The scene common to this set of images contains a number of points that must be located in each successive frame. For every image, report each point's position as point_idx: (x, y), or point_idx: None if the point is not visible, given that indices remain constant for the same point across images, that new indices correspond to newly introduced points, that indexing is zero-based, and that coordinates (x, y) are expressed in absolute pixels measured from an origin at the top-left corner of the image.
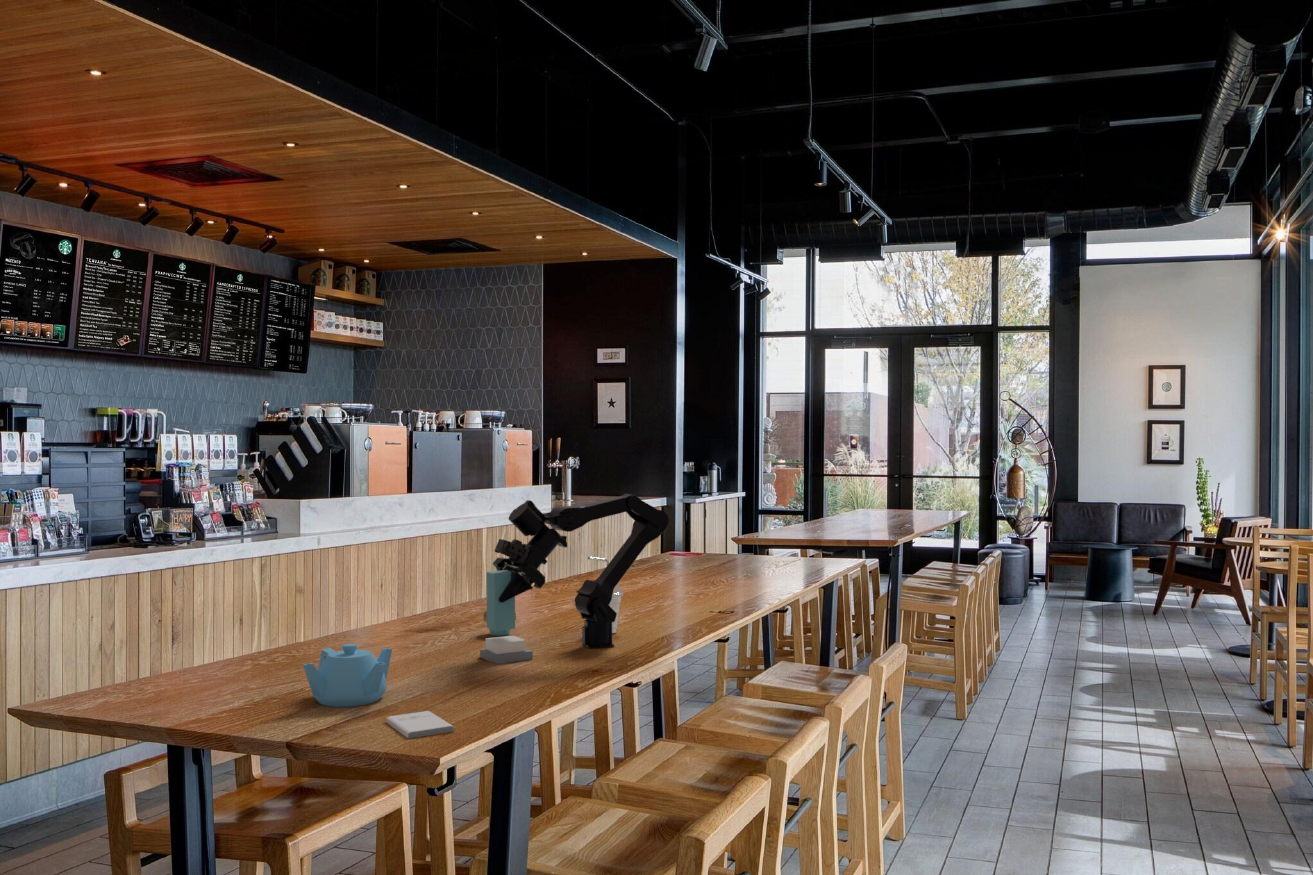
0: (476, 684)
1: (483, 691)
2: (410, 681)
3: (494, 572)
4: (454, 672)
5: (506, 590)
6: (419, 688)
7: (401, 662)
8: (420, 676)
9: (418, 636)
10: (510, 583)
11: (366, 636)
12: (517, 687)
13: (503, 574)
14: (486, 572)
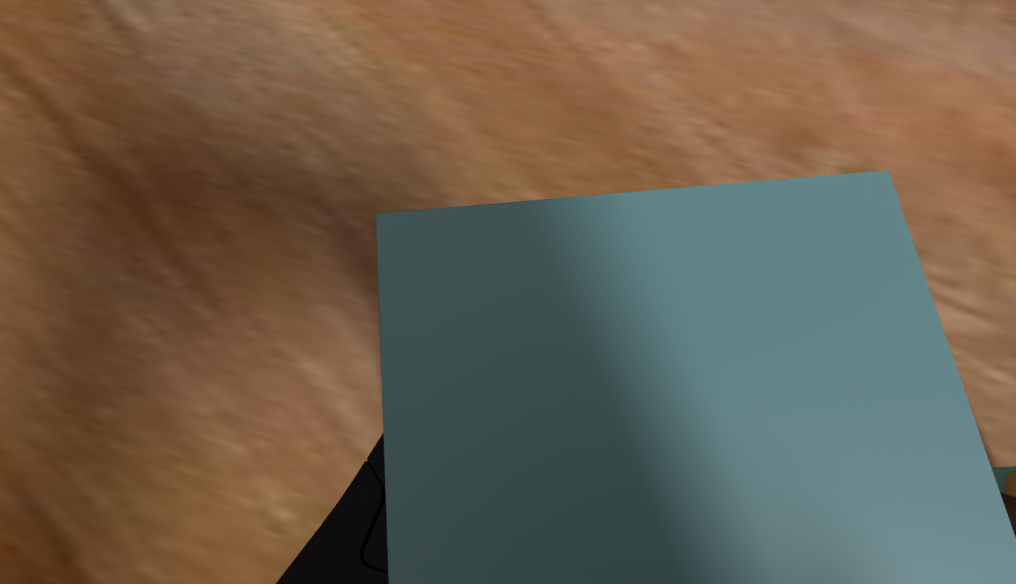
0: (139, 184)
1: (31, 176)
2: (296, 36)
3: (724, 311)
4: (349, 170)
5: (382, 434)
6: (193, 36)
7: (571, 73)
8: (347, 73)
9: (982, 211)
10: (336, 533)
11: (1011, 72)
12: (7, 287)
13: (392, 467)
14: (872, 180)
